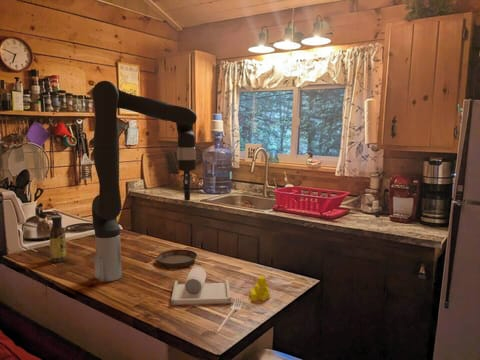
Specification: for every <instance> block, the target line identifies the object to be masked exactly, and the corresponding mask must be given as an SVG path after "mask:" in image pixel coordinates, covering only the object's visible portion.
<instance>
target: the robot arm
mask: <svg viewBox="0 0 480 360" xmlns="http://www.w3.org/2000/svg"><path fill="white" fill-rule="evenodd" d="M91 96H92V100H93V105H94V117H95V118H94V119H95V120H94V121H95V124H94V130H93V131H94V132H93V143H92V147H93V148H92V149H93V150H92V151H93V154H92V155H93V162H94V163H93V164H94V167H95V171H96V175H97V180H98V184H99V185H98V186H99V187H98V189H99V190H98V191H99V192H98V193H99V194H97V195H96V196H95V197H94V198H93V200H92V204H91V215H92V216H91V217H92V227H93V230H94V231H93V232H94V239H95V240H94V241H95V245H94V246H95V254H94V255H93V261H94V278H95V279H96V280H97V281H99V283H104V282H113V281H117V280H120V279H121V278H122V276H123V275H122V272H123V271H122V247H121V227H120V225H119V224H118V217H119V215H120V213H121V212H122V205H123V204H122V197H121V190H120V139H119V132H118V131H119V129H118V121H117V120H118V119H117V115H118V109H122V110H126V111H131V112H135V113H137V114H141V115H144V116H147V117H150V118H154V119H158V120H162V121H164V122H172V123H175V124H176V132H177V155H176V156H177V171H183V173H182V175H181V179H182V180H181V181H182V187H183V193H184V201H187V202H189V201H190V200H191V190H192V189H191V188H192V187H191V186H192V179H193V174H192V173H191V172H192V171H196V170H197V152H196V135H195V133H194V124H196V122H197V119H198V118H197V114H196V111H194V110H193V109H191V108H189V107H185V106H181V105H176V104H175V105H174V104H171V103H170V102H166V101H162V100H159V99H156V98H155V99H154V98H152V97H146V96H140V95H135V94H131V93H128V92H126V91H124V90H121V89H119V88H118V87H117V86H116V85H115V84H114V83H113V82H111V81H110V80H109V81H108V80H101V81H98V82H97V83H95V84H94V86H93V88H92V91H91Z"/></svg>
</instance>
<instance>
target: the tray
mask: <svg viewBox="0 0 480 360" xmlns="http://www.w3.org/2000/svg"><path fill="white" fill-rule="evenodd" d="M172 289H173V290H172V295H171V298H170V305H171V306H197V305H199V306H200V305H202V306H203V305H227V304H228V305H229V304H232V297H231V290H230V289H231V287H230V281H229V279H225V282H217V283H214V282H212V283H204V285H203V288H202V290H201V291H200V292H199V293H197V294H190V293H188V292H187V291H186V288H185V283H179V281H178V280H174V284H173V288H172Z"/></svg>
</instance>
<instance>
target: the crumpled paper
mask: <svg viewBox="0 0 480 360" xmlns="http://www.w3.org/2000/svg"><path fill="white" fill-rule="evenodd" d="M256 282H257V283H255V285H254V287H253V288H250V289H249V297H250V300H251V301H253V302H255V301H258V300H259V301H262V302H264V301H266V300H267V299H269V298H270V296H271V295H270V293H271V292H270V291H269V288H268V287H269V286H270V283H268V282H267V279H266V278H265V276H264V275H263V274H261V275H260V276H257V279H256Z"/></svg>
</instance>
